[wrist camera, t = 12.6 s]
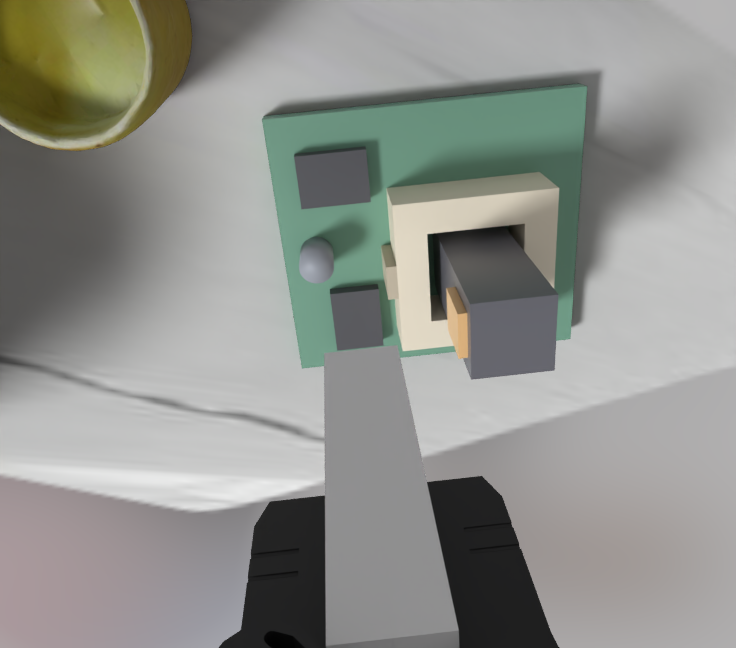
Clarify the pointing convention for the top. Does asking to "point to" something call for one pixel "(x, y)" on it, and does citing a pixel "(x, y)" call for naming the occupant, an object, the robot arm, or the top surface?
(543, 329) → the plug
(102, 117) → the mug
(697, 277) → the top surface
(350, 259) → the board
